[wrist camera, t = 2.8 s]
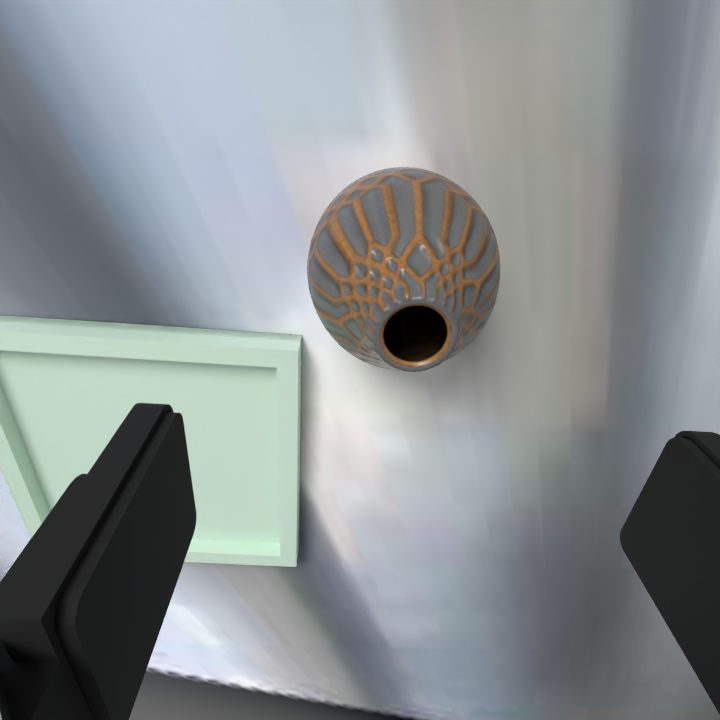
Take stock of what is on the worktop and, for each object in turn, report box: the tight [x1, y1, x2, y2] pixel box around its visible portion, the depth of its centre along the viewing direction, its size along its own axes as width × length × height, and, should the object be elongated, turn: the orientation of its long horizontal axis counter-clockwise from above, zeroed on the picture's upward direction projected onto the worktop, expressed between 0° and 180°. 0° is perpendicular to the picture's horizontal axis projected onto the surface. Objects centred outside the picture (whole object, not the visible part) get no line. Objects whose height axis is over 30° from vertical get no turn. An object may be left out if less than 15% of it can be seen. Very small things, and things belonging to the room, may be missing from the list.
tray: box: [0, 315, 302, 567], centre depth 26 cm, size 16×16×2 cm
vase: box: [307, 167, 500, 372], centre depth 17 cm, size 7×7×9 cm
